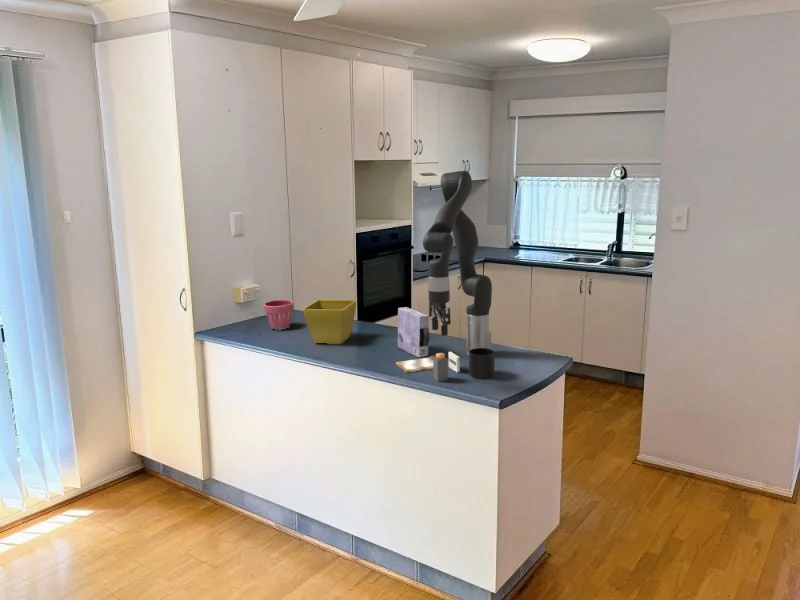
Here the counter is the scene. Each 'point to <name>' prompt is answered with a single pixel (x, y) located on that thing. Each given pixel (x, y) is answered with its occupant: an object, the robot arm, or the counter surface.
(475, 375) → the mug
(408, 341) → the cake pan box
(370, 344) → the counter surface
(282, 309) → the plant pot
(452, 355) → the block
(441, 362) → the ball-topped gray post
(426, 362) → the clipboard
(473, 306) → the robot arm
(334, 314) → the flower pot
